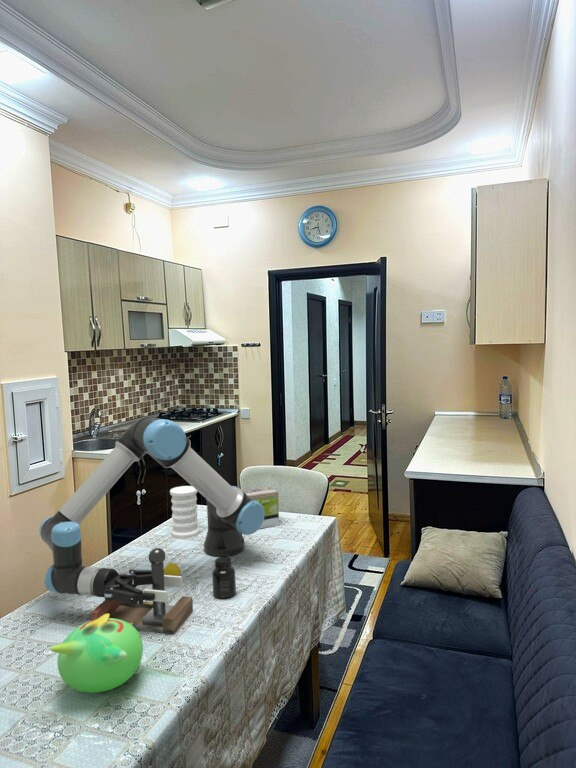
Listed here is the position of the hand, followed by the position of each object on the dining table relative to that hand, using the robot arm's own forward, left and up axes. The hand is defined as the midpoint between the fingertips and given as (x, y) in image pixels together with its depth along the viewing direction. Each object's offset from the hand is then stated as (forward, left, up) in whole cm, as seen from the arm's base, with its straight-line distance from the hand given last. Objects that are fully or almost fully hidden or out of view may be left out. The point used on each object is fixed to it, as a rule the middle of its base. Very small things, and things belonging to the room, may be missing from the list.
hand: (174, 589), depth 138 cm
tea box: (-66, -44, -11) cm, 80 cm away
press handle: (+3, -4, -9) cm, 10 cm away
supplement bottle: (-18, -3, -11) cm, 22 cm away
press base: (+5, -8, -10) cm, 14 cm away
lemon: (-11, -21, -11) cm, 26 cm away
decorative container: (-40, -59, -11) cm, 72 cm away
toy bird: (+25, +9, -11) cm, 28 cm away
